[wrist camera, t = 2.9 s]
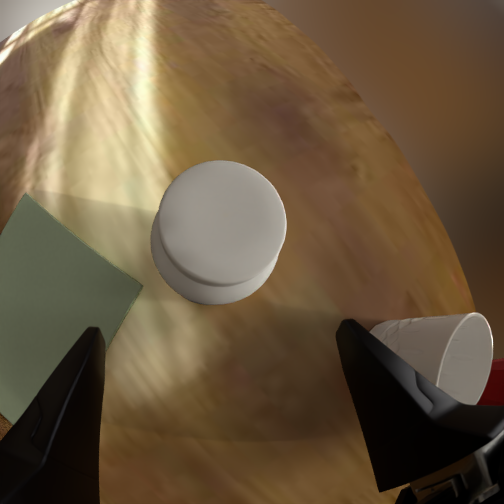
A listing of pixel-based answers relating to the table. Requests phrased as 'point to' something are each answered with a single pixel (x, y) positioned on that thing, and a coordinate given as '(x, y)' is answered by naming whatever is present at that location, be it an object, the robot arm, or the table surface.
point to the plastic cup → (494, 385)
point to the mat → (50, 300)
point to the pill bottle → (218, 232)
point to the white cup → (444, 351)
